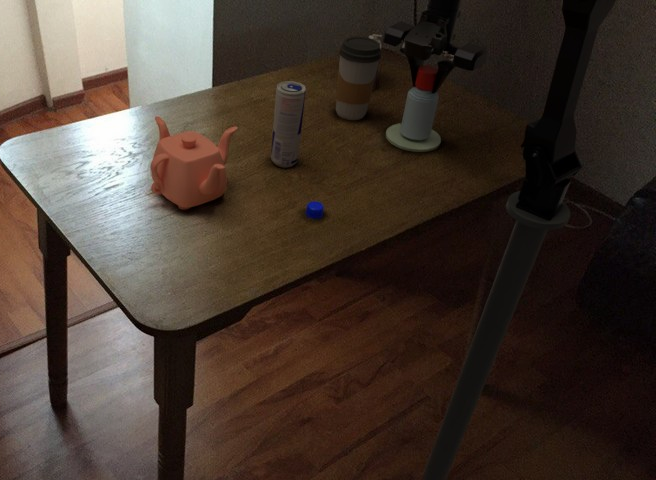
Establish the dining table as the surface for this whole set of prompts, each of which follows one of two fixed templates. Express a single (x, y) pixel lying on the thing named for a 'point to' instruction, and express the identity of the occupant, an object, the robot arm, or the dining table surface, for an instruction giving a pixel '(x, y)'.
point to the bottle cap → (314, 210)
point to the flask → (376, 37)
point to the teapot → (189, 166)
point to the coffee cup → (356, 76)
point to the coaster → (412, 140)
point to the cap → (426, 77)
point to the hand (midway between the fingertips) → (424, 89)
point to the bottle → (419, 114)
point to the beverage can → (287, 123)
